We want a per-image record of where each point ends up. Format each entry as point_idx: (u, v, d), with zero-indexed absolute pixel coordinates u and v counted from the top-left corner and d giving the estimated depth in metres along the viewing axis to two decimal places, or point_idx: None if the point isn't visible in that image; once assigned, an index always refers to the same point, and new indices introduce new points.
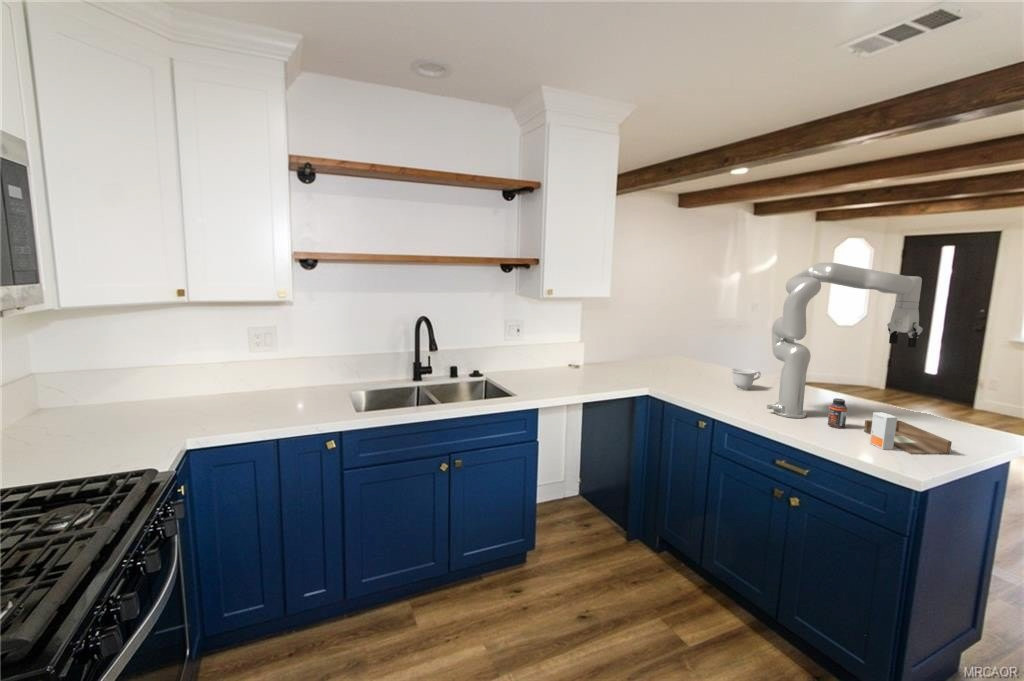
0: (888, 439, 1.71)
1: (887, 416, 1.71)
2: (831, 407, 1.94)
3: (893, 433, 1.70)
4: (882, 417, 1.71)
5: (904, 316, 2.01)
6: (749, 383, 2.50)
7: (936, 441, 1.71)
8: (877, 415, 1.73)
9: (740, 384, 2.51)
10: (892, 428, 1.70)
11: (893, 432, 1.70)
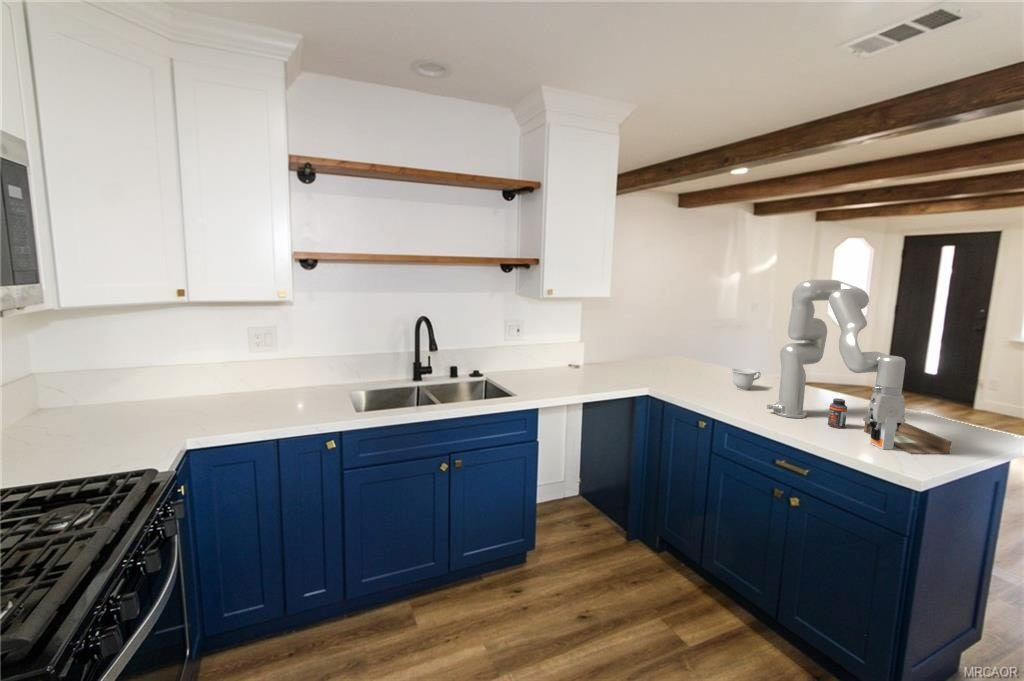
0: (888, 439, 1.71)
1: None
2: (831, 407, 1.94)
3: (893, 433, 1.70)
4: None
5: (900, 404, 1.69)
6: (749, 383, 2.50)
7: (936, 441, 1.71)
8: None
9: (740, 384, 2.51)
10: (892, 428, 1.70)
11: (893, 432, 1.70)
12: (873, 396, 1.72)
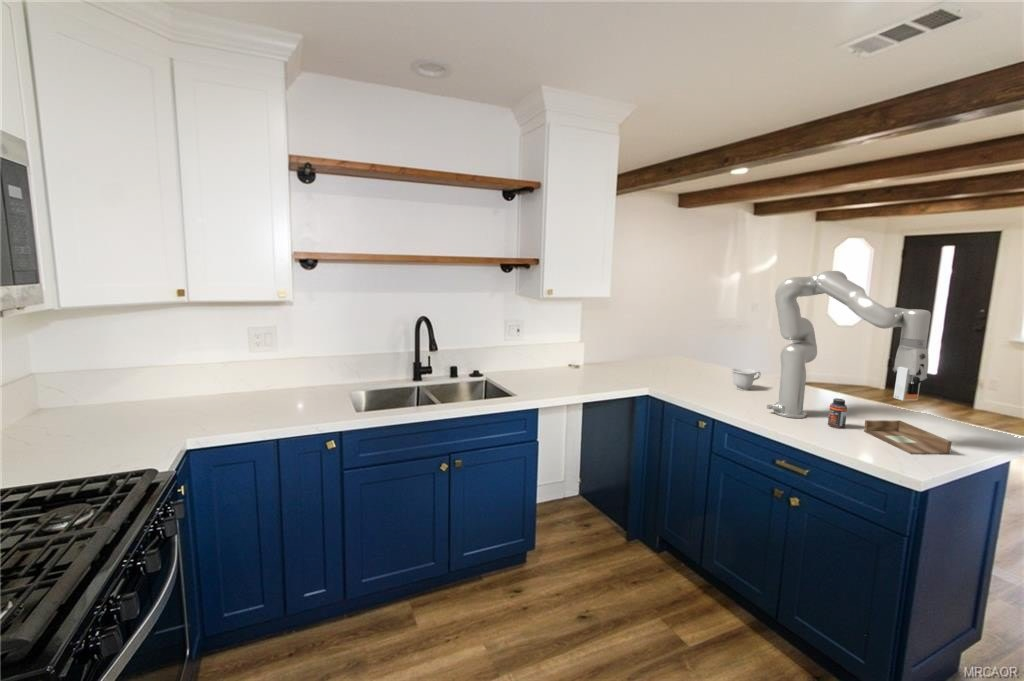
0: None
1: None
2: (831, 407, 1.94)
3: None
4: None
5: None
6: (749, 383, 2.50)
7: (936, 441, 1.71)
8: None
9: (740, 384, 2.51)
10: None
11: None
12: (920, 352, 1.70)
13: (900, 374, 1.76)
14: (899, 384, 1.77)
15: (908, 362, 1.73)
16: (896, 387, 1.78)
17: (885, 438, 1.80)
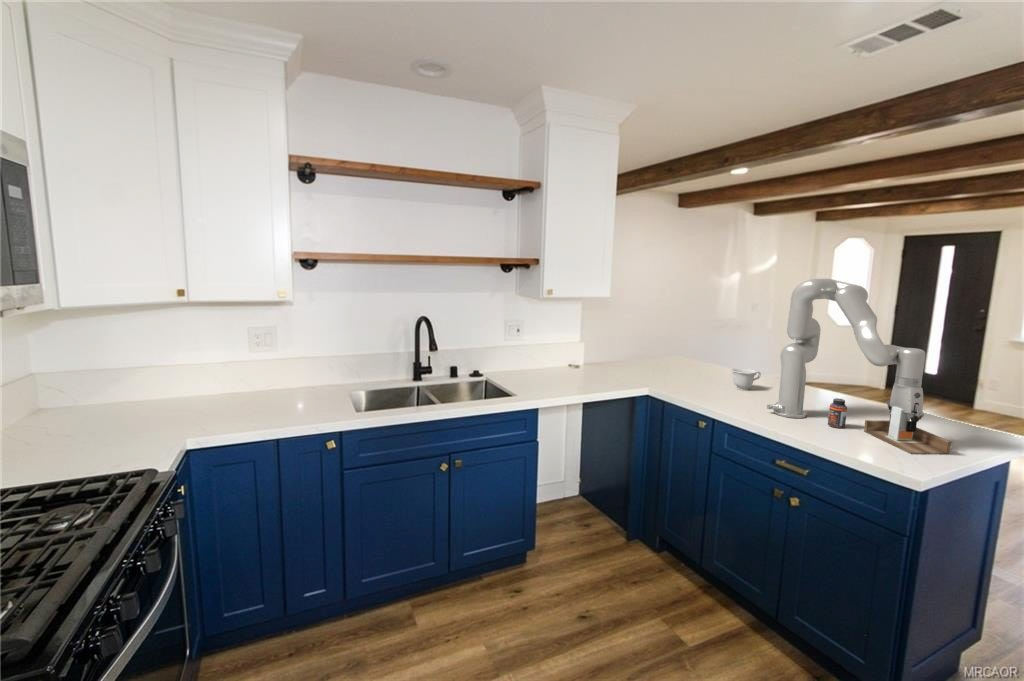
0: None
1: None
2: (831, 407, 1.94)
3: None
4: None
5: None
6: (749, 383, 2.50)
7: (936, 441, 1.71)
8: None
9: (740, 384, 2.51)
10: None
11: None
12: (915, 391, 1.72)
13: (894, 414, 1.79)
14: (893, 424, 1.79)
15: (903, 400, 1.75)
16: (890, 426, 1.80)
17: (885, 438, 1.80)
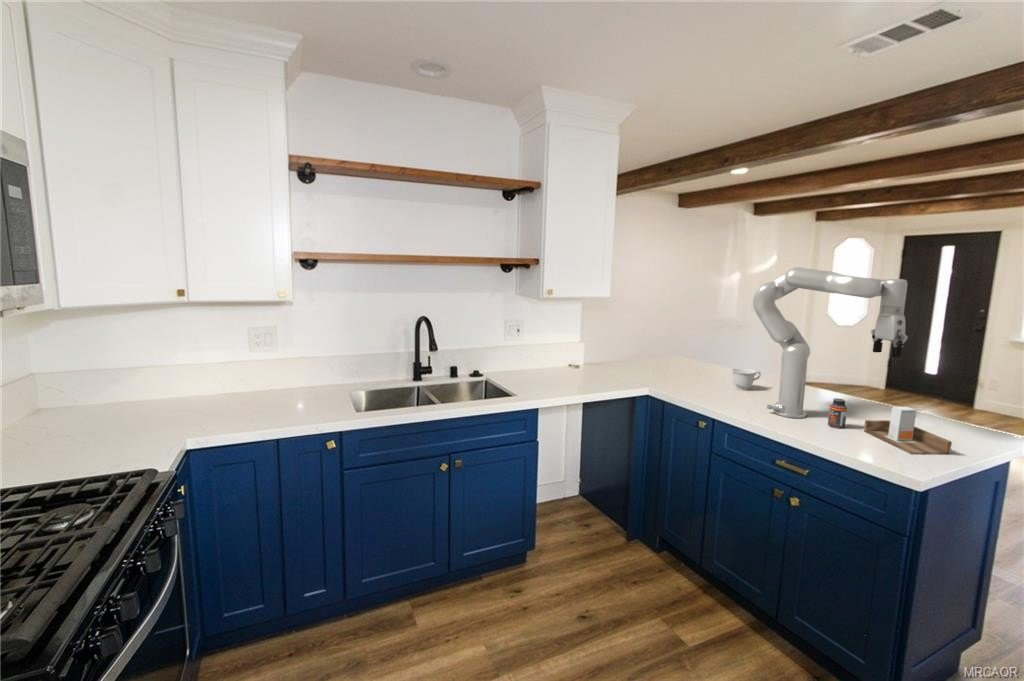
0: None
1: (910, 408, 1.77)
2: (831, 407, 1.94)
3: None
4: (911, 411, 1.76)
5: None
6: (749, 383, 2.50)
7: (936, 441, 1.71)
8: (906, 411, 1.76)
9: (740, 384, 2.51)
10: None
11: None
12: (898, 318, 1.82)
13: (894, 414, 1.79)
14: (893, 424, 1.79)
15: (887, 328, 1.85)
16: (890, 427, 1.80)
17: (885, 438, 1.80)
